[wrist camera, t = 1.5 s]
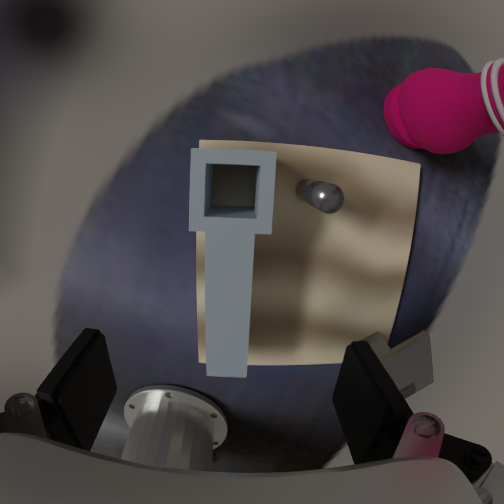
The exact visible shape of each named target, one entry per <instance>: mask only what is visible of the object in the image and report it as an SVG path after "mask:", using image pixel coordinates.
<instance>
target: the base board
mask: <svg viewBox="0 0 504 504" xmlns="http://www.w3.org/2000/svg"><path fill="white" fill-rule="evenodd" d="M199 148H210V149H241V150H260V151H275V152H277V155H276V172H275V188H274V203H273V218H272V233H271V234H255V241H254V259H253V276H252V293H251V310H250V327H249V344H248V361H247V365H308V364H331V363H342V361H343V358H344V354H345V350H346V347H347V345H350V344H351V342H352V341H359V340H361V339H363V338H365V337H367V336H369V335H371V334H373V333H375V332H377V331H378V333H379V334H380V335H381V337H382V338H383V339H384V340H385V342H386V343H387V344H388V341H389V337H390V334H391V331H392V327H393V323H394V320H395V316H396V312H397V308H398V304H399V300H400V296H401V292H402V287H403V283H404V278H405V274H406V269H407V264H408V259H409V253H410V248H411V242H412V236H413V229H414V222H415V215H416V207H417V199H418V189H419V178H420V165H421V164H418V163H413V162H408V161H403V160H398V159H393V158H388V157H382V156H376V155H370V154H364V153H358V152H351V151H344V150H337V149H329V148H321V147H312V146H302V145H292V144H280V143H267V142H250V141H227V140H200V142H199ZM255 170H256V166H245V165H219V164H214V174H213V200H212V205H218V206H243V207H253V206H254V188H255ZM302 179H312V180H317V181H322V182H327V183H332V184H335V185H337V186H338V187H340V188H341V190H342V192H343V194H344V202H343V205H342V207H341V208H340V209H339V210H338V211H337V212H335V213H332V214H327V213H324V212H322V211H320V210H318V209H317V208H315V207H313V206H311V205H310V204H308V203H306V202H304V201H302V200H301V199H299V198H298V196H297V195H296V191H295V189H296V185H297V183H298V182H299V181H300V180H302ZM196 263H197V322H198V349H199V363H206V333H205V232H202V231H197V250H196Z"/></svg>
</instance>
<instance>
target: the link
mask: <svg viewBox="0 0 504 504" xmlns="http://www.w3.org/2000/svg"><path fill="white" fill-rule="evenodd" d="M276 155H277V152H275V151H260V150H241V149H210V148H191V168H190V202H189V231H202V232H205V333H206V368H207V376H220V377H247V361H248V344H249V327H250V310H251V293H252V276H253V259H254V241H255V234H271V233H272V218H273V203H274V188H275V172H276ZM214 164H219V165H245V166H256V170H255V188H254V206H253V207H243V206H218V205H212V200H213V174H214Z"/></svg>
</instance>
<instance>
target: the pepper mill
mask: <svg viewBox="0 0 504 504" xmlns="http://www.w3.org/2000/svg"><path fill="white" fill-rule="evenodd" d="M383 111H384V118H385V122H386V125H387V127H388V129H389V131H390V132H391V134H392V135H393V136H394V138H395V139H396V140H397V141H399V142H400V143H401V144H402V145H404V146H406V147H409V148H412V149H425V150H427V151H429V152H432V153H436V154H451V153H455V152H458V151H461V150H463V149H465V148H466V147H468V146H469V145H470V144H471V143H473V142H474V141H475V140H476V139H477V138H479V137H481V136H483V135H485V134H490V133H496V132H498V133H501V134H502V135H503V136H504V58H501V59H498V60H496V61H490V62H488V63H487V64H485V66H484V67H483V69H482V72H480V73H473V74H464V73H457V72H454V71H450V70H446V69H442V68H427V69H423V70H419V71H416V72H414V73H412V74H411V75H409V76H408V77H407V79H406V80H405V81H404V82H403V84H401V85H398V86H396V87H394V88H393V89H391V91H390V92H389V93H388V94H387V96H386V98H385V102H384V110H383Z"/></svg>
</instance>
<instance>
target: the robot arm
mask: <svg viewBox="0 0 504 504" xmlns="http://www.w3.org/2000/svg"><path fill="white" fill-rule="evenodd" d="M116 390H117V386H116V382H115V378H114V374H113V370H112V366H111V362H110V358H109V354H108V349H107V345H106V340H105V336H104V334H101V332H100V330H97V329H91V328H85V329H84V330H83V331H82V333H81V334H80V335H79V336H78V337H77V339H76V340H75V341H74V342H73V344H72V345H71V346H70V347H69V349H68V350H67V351H66V352H65V354H64V355H63V356H62V358H61V359H60V360H59V361H58V363H57V364H56V365H55V367H54V368H53V369H52V371H51V372H50V373H49V375H48V376H47V377H46V379H45V380H44V381H43V382H42V384H41V385H40V387H39V388H38V389H37V394H36V395H35V396H33V395H32V394H30V393H25V392H23V393H17V394H14V395H13V396H11V397H10V398H9V399H8V400H7V401H6V403H5V406H4V412H2V413H0V504H504V465H502V464H501V463H499V462H497V461H496V462H495V463H492V457H491V454H490V452H489V451H488V450H487V449H486V448H485V447H483V446H481V445H479V444H475V443H472V442H469V441H466V440H463V439H460V438H457V437H454V436H451V435H448V434H445V433H444V424H443V422H442V421H441V419H440V418H438V417H437V416H436V415H433V414H431V413H427V412H420V413H416V414H413V412H412V410H411V409H410V407H409V406H408V404H407V402H406V400H405V399H404V397H403V396H402V394H401V392H400V391H399V389H398V388H397V386H396V384H395V383H394V381H393V380H392V378H391V376H390V375H389V373H388V372H387V371H386V369H385V368H384V366H383V365H382V363H381V362H380V360H379V358H378V357H377V355H376V354H375V352H374V351H373V349H372V348H371V346H370V345H369V343H368V342H367V341H352V342H351V344H350V345H347V347H346V350H345V354H344V358H343V361H342V365H341V369H340V373H339V376H338V380H337V383H336V387H335V390H334V393H333V404H334V407H335V410H336V412H337V415H338V418H339V421H340V424H341V427H342V430H343V432H344V435H345V438H346V441H347V444H348V447H349V449H350V453H351V456H352V459H353V461H354V464H355V465H349V466H343V467H335V468H326V469H318V470H308V471H296V472H278V473H225V472H211V471H212V456H213V449H215V448H217V447H218V446H220V445H221V444H222V443H223V442H224V440H225V438H226V436H227V431H228V423H227V419H226V416H225V415H224V413H223V411H222V410H221V409H220V408H219V407H218V406H217V405H216V404H215V403H214V402H213V401H211V400H210V399H209V398H207V397H205V396H203V395H201V394H200V393H197V392H195V391H192V390H190V389H186V388H182V387H179V386H172V385H151V386H146V387H143V388H140V389H138V390H137V391H135V392H133V393H132V394H131V395H130V397H129V398H128V400H127V402H126V404H125V408H124V416H125V419H126V422H127V424H128V426H129V427H130V429H131V430H130V433H129V436H128V439H127V441H126V444H125V447H124V450H123V453H122V456H121V459H119V458H115V457H110V456H106V455H102V454H98V453H94V452H91V451H90V450H91V448H92V446H93V443H94V441H95V439H96V436H97V434H98V432H99V429H100V427H101V425H102V423H103V420H104V418H105V416H106V414H107V411H108V409H109V407H110V405H111V403H112V400H113V398H114V396H115V394H116Z"/></svg>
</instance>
